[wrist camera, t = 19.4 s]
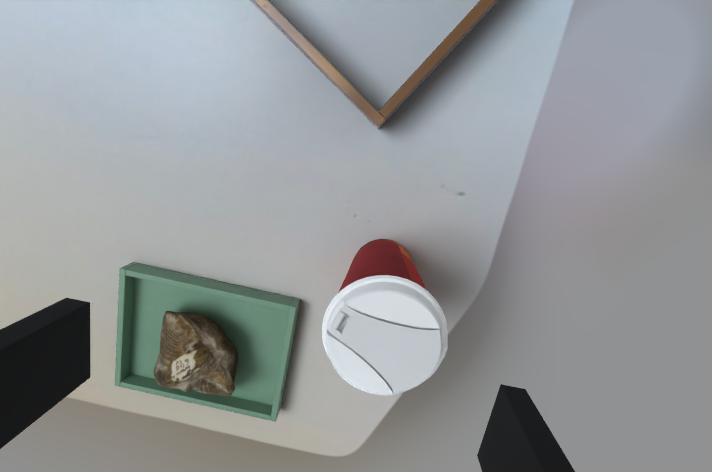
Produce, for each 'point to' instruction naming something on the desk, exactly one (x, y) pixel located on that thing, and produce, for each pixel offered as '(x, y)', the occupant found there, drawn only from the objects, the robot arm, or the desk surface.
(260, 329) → the tray
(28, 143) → the desk surface
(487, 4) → the rectangular frame
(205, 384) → the fossilized seashell
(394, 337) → the paper cup
